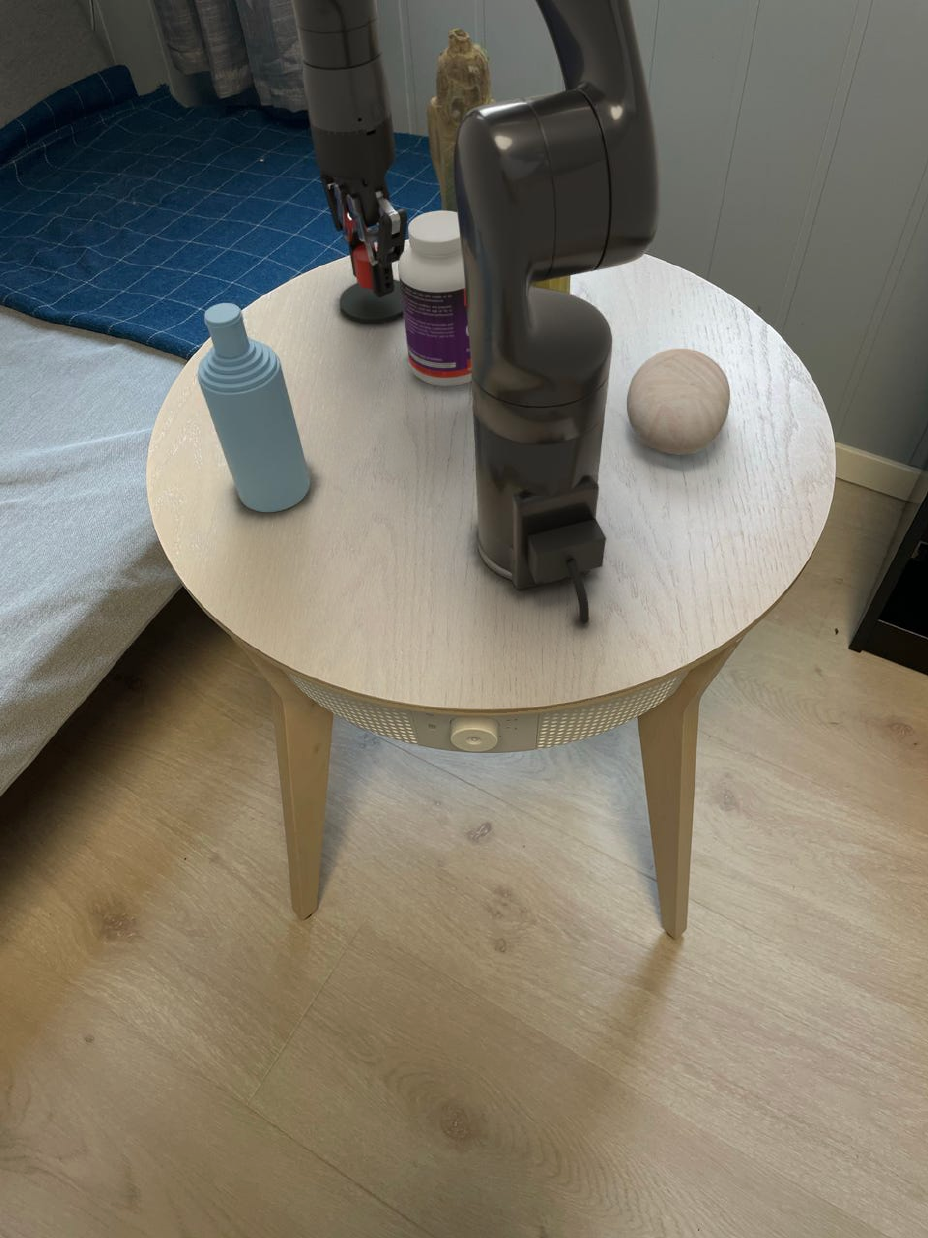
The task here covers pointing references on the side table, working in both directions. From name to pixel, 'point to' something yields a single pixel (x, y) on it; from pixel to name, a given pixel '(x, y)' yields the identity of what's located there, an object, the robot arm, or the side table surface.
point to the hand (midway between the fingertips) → (374, 283)
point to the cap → (363, 266)
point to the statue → (455, 104)
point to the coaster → (371, 305)
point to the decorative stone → (678, 401)
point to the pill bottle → (435, 300)
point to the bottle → (252, 414)
